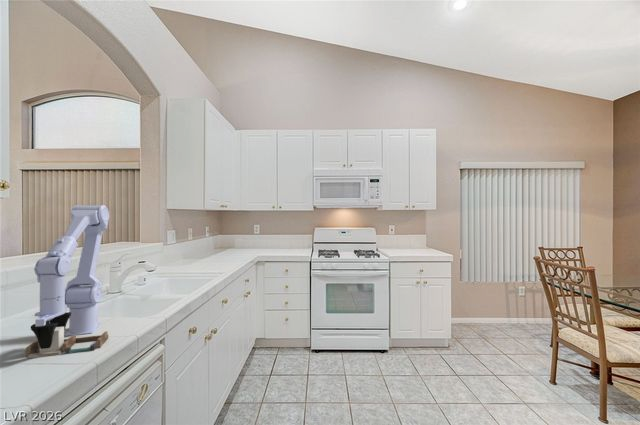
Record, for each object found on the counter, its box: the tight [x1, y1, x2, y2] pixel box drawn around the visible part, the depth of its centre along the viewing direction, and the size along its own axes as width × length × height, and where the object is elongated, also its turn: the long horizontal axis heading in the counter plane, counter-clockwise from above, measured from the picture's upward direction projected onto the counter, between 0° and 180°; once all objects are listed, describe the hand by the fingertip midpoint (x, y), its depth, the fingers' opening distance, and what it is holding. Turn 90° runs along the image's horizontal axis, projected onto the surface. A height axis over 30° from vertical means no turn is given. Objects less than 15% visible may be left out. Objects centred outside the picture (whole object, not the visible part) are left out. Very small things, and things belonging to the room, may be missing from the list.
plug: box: [39, 326, 65, 353], centre depth 92 cm, size 4×4×7 cm
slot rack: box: [25, 330, 109, 359], centre depth 94 cm, size 9×18×2 cm, turn 109°
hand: (52, 342), depth 92 cm, fingers open, 7 cm apart
